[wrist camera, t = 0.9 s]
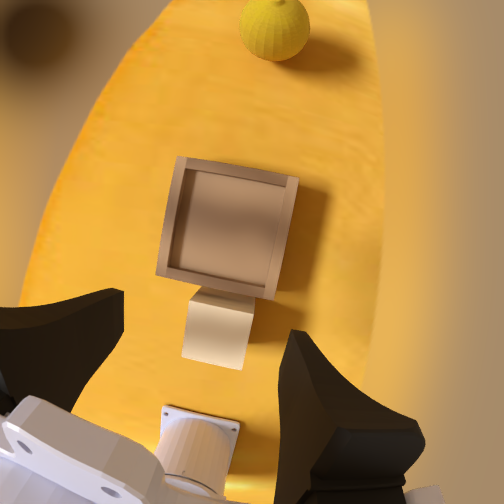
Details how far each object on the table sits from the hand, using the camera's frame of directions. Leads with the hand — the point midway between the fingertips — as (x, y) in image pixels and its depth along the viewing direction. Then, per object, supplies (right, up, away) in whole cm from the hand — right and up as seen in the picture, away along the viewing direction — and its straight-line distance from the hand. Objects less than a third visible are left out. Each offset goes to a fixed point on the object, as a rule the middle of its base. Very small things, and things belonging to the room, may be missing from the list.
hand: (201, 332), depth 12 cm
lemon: (+4, +21, +11) cm, 24 cm away
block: (0, -2, +14) cm, 14 cm away
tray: (0, +5, +13) cm, 14 cm away
